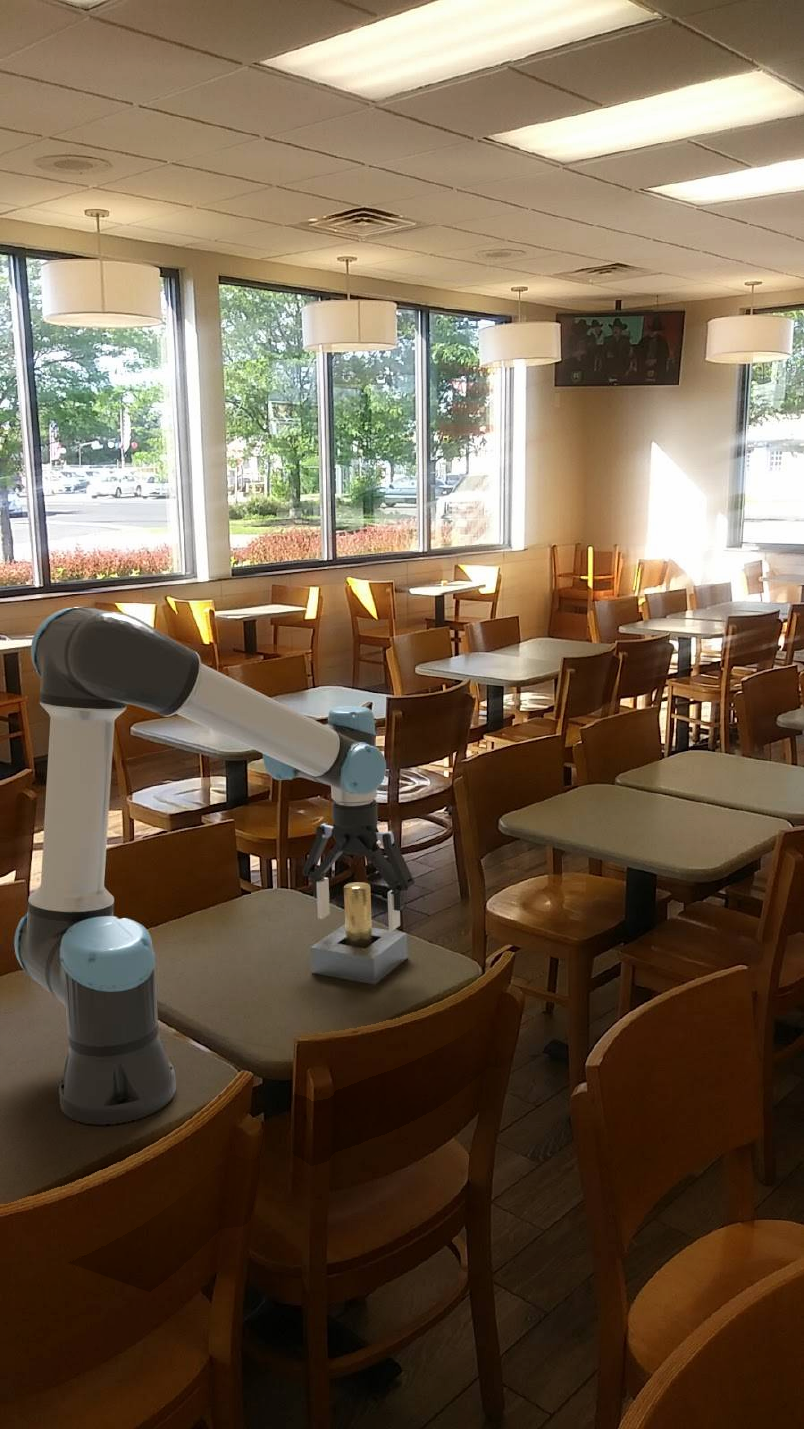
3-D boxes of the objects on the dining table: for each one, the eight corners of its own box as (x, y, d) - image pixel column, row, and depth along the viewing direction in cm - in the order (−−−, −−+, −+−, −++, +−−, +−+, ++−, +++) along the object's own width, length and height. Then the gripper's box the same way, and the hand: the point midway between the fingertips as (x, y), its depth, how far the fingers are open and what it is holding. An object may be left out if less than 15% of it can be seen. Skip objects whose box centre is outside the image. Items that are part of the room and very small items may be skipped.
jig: (374, 984, 187) (373, 958, 186) (311, 972, 192) (310, 947, 191) (407, 957, 197) (406, 933, 196) (346, 947, 202) (345, 923, 202)
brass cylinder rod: (365, 972, 192) (362, 892, 189) (342, 967, 194) (339, 888, 191) (377, 962, 196) (374, 884, 193) (354, 958, 198) (352, 880, 195)
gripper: (432, 801, 187) (435, 924, 191) (301, 787, 198) (306, 904, 202) (412, 813, 180) (415, 940, 184) (278, 798, 191) (283, 918, 195)
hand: (358, 922), depth 193 cm, fingers open, 13 cm apart
